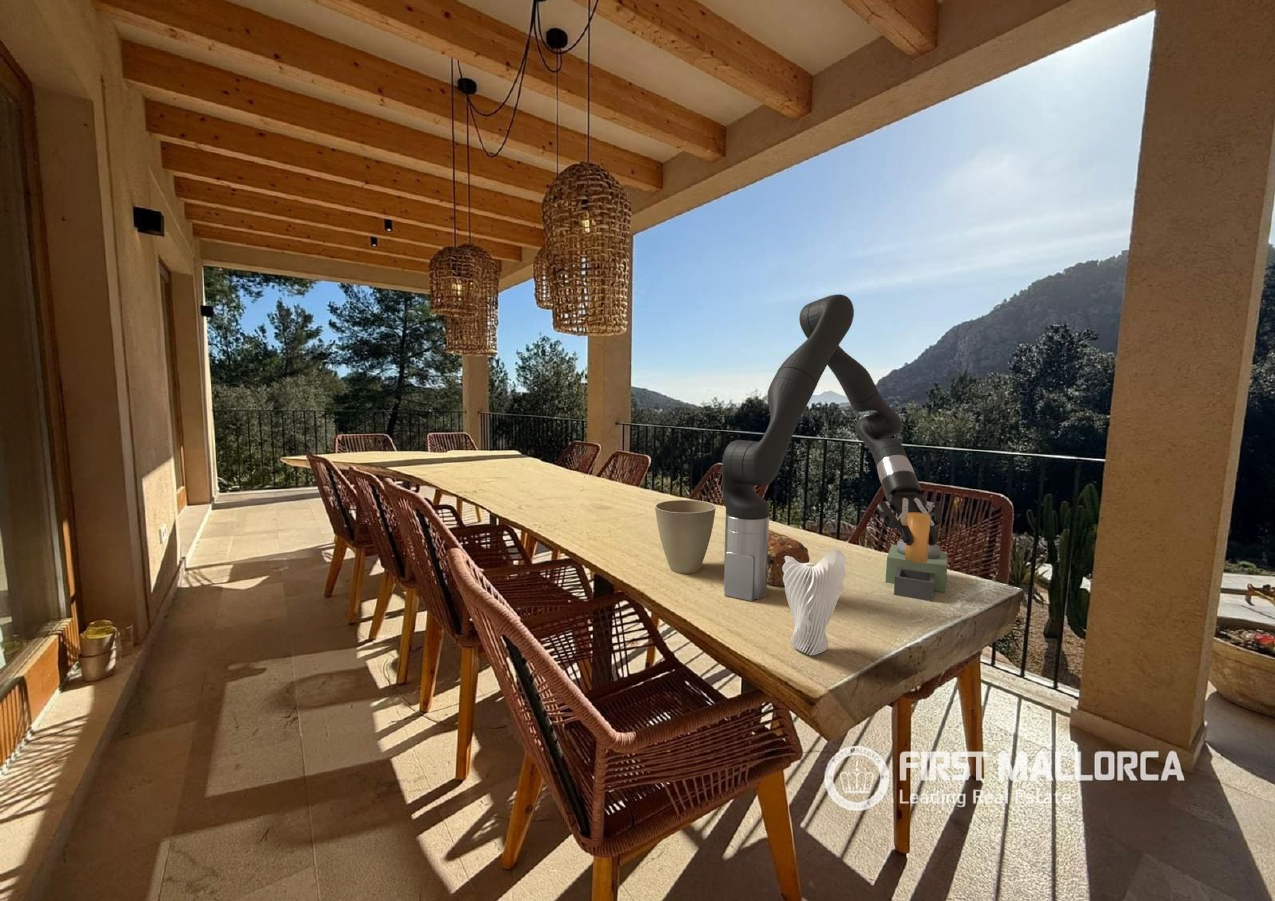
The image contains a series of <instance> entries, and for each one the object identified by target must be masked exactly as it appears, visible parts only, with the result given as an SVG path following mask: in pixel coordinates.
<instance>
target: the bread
mask: <svg viewBox="0 0 1275 901" xmlns="http://www.w3.org/2000/svg"><path fill="white" fill-rule="evenodd" d="M785 556H789V557H793V558H794V559H795V560H796V561H797V562H799V563H810V561H811V560H810V559H811V558H810V555H809V550H808V548H807V547H806V546H804V545H803V543H802V542H801V541H799V540H797V539H794V538H793V537H789V536H788V535H785V534H782V533H779V532H777V531H773V530H772V529H771V530H770V529H769V534H768V563H767V584H769V586H770V585H772V586H778V587H779V586H785V585H784V582H783V576H784V572H783V569H782V568H783V565H784V564H785V563H786V561H785Z"/></svg>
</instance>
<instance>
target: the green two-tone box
mask: <svg viewBox="0 0 1275 901" xmlns="http://www.w3.org/2000/svg"><path fill="white" fill-rule="evenodd" d="M905 546H906V543H904V542H903V540H902V539H900V540H897V542H896V544H891V545H890V548H889V551H888V552H887V553H888V554H887V557H886V569H885V570H886V571H885V583H889V584H893V585H894V586H893V587H894V589H893V595H894V596H900V597H904V598H905V597H906V598H910V599H917V600H921V601H927V602H932V601H933V602H934V592H939V593H946V587H947V575H948V552H947V551H941V546H940V545H939V544H937V543H936V544H935V545H934V546H930V545H929V546H928V561H927V562H923V563H920V562H912V561H909V560H906V559H905Z"/></svg>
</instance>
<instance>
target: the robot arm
mask: <svg viewBox="0 0 1275 901" xmlns="http://www.w3.org/2000/svg"><path fill="white" fill-rule="evenodd" d="M854 317H855V310H854V304H853V302H852V300H851V299H850V298H849V297H848V296H846V295H845V294H839V293H838V294H831V295H828V296H825V297H822V298H819V299H816V300H814V301H811V302H808V303H807V304H805V305H804V306H803V307H802V308H801V310H800V313H799V320H798V321H799V325H800V328H801V330H802V332H803V334H804V336H805V337H806V338H807V339H806V340H805V341H804V342H803V343H802V344H800V346H799V347H798V348H796V349H795V350H794V352H792V353H791V354H790V355H789V356H788V357H787V358H786V359H785V360H784V361H783V363H782V364H781V365H780V366H779V368H778V370H777V371H776V373H775V375H774V377H773V379H772V381H771V382H770V385H769V387H768V389H767V403H768V404H767V405H768V410H769V416H770V418H769V423H768V426H767V429H766V431H765V432H764V434H763V436H762V438H761V439H760V440H759V441H756V440H755V441H754V440H745V439H744V440H743V439H736V440H733V441H731V442H729V444H728V445H727V446H726V448H725V450H724V453H723V455H722V459H721V460H722V462H721V463H722V464H721V476H722V477H721V478H722V480H721V481H722V500H723V501H722V502H723V503H724V507H725V524H724V525H725V529H724V533H725V534H724V557H723V558H724V562H723V563H724V564H723V565H724V567H723V592H724V596H726V597H731V598H735V599H740V600H741V599H742V600H745V601H749V602H753V601H754V600H758V599H762V598H764V597H765V596H766V595H767V593H768V592H767V590H768V589H767V588H768V586H767V585H768V583H767V563H768V534H769V530H770V528H769V527H770V504H769V502H768V501H767V500H766V499H763V498H762V497H761V496H760V495H759V494H758V493H757V492H756V491H755V488H754V487H753V486H757V487H765V486H768V485H770V484H771V483H773V481H774V480H775V478H776V477H777V475H778V474H779V471H780V470H781V467H782V464H783V462H784V459H785V457H786V453H787V451H788V448H789V445H790V442H791V440H792V438H793V435H794V434H795V430H796V428H797V426H798V424H799V422H800V419H801V417H802V415H803V413H804V412H805V409H806V407H807V405H808V404H809V402H810V400H811V399H812V396H813V394H814V393H815V390H816V388H817V386H818V383H819V382H820V380H821V377H822V375H823V374H824V371H825V370H826V368H827V366H828V368H829V369H830V370H831V373H832V374H833V375H834V377H835V378H836V379H837V381H838V383H839V385H840V386H841V388H842V390H843V392H844V394H845V396H846V398H847V400H848V402H849V404H850V406H851V408H852V409H853V410H854V411H855V412H860V413H861V412H868V411H875V412H873V413H871V414H869V415H866V416H863V417H861V418H859V419H858V420H857V421H856V424H855V431H856V434H857V435H858V438H859V439H860V440H861V441H862V443H864V444H865V445H866V447H867V448H868V450H869V451H870V453H871V455H872V458H873V460H874V463H875V465H876V469H877V474H878V477H879V481H880V483H881V486H882V490H883V493H884V496H885V498H886V500H887V501H885V500H880V502H879V503H878V504H877V506H876V510H877V511H878V514H879V515H880V516H881V518H882V519H883V521H884V523H885V524H886V525H887V526H888V528H890V529H897V530H898V532H899V534H900V536H901V540H903V542H904V543H906V545H907V546H911V545H912V543H913V542H914V539H913V537H912V534H911V531H910V528H909V526H907V514H908V513H910V512H919V513H925V514H929V515H930V531H929V545H930V546H934V545H935V544H937V543H938V541H939V536H938V534H937V531H936V529H937V528H938V527H939V525H941V523H942V513H941V512H942V509H941V502H940V501H937V500H936V501H934V502H931V501H927V499H926V498H925V497H924V496H923V492H922V487H921V485H920V483H919V481H918V478H917V476H916V473H915V471H914V467H913V466H912V464H911V462H910V460H909V459H908V456H907V453H906V450H905V449H904V446H903V443H902V442H901V441H900V440H899V439H896V438H893V436H895V435H897V434H899V433H900V432H901V431H902V429H903V421H902V419H901V416H899V414H898V413H897V412H896V410H894V409H893V408H892V406H890V405H889V404H888V403H887V401H886V400H884V398H883V397H882V395H881V393H880V391H879V390H878V388H877V386H876V384H875V382H874V380H873V378H872V375H871V374H870V373H869V371H868V370H867V369H866V368H865V366H863V364H861V363H860V362H858V361H857V360H856V359H855V358H853V357H852V356H850V354H848V353H847V351H845V350H844V349H843V348H842V347H841V346H840V343H842V341H843V339H844V338H845V337H846V335H847V333H848V331H849V330H850V329H851V326H852V324H853V320H854ZM927 510H928V511H927ZM893 512H895V514H896V515H895V514H894V513H893Z"/></svg>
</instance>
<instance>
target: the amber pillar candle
mask: <svg viewBox="0 0 1275 901" xmlns="http://www.w3.org/2000/svg"><path fill="white" fill-rule="evenodd" d="M907 526H909V528H910V531H911V534H912V537H913V539H914V542H913V543H912V545H911V546H907V545H906V546H905V559H906V560H909V561H912V562H920V563H923V562H927V561H928V546H929V531H930V513H929V514H925V513H919V512H910V513H908V514H907Z"/></svg>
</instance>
